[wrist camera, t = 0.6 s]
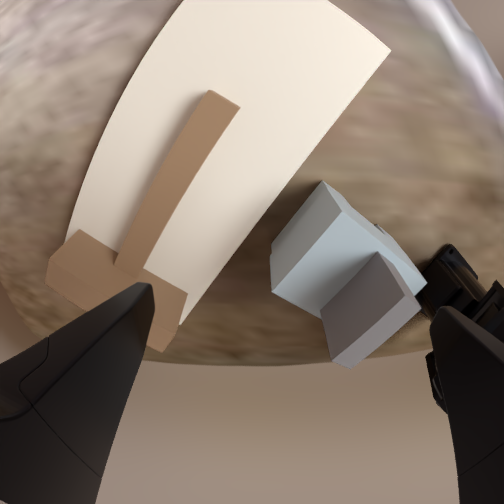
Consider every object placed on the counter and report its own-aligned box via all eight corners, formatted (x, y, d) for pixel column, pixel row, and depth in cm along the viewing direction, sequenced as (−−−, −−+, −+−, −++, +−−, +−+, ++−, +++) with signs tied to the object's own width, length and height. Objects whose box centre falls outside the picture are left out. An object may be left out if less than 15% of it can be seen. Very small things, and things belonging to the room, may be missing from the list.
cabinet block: (394, 239, 22) (455, 324, 13) (345, 290, 24) (378, 387, 15) (320, 178, 20) (367, 250, 11) (268, 242, 22) (274, 343, 13)
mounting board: (382, 53, 15) (427, 42, 10) (183, 313, 26) (168, 365, 20) (231, -42, 12) (221, -85, 6) (69, 246, 22) (33, 285, 17)
